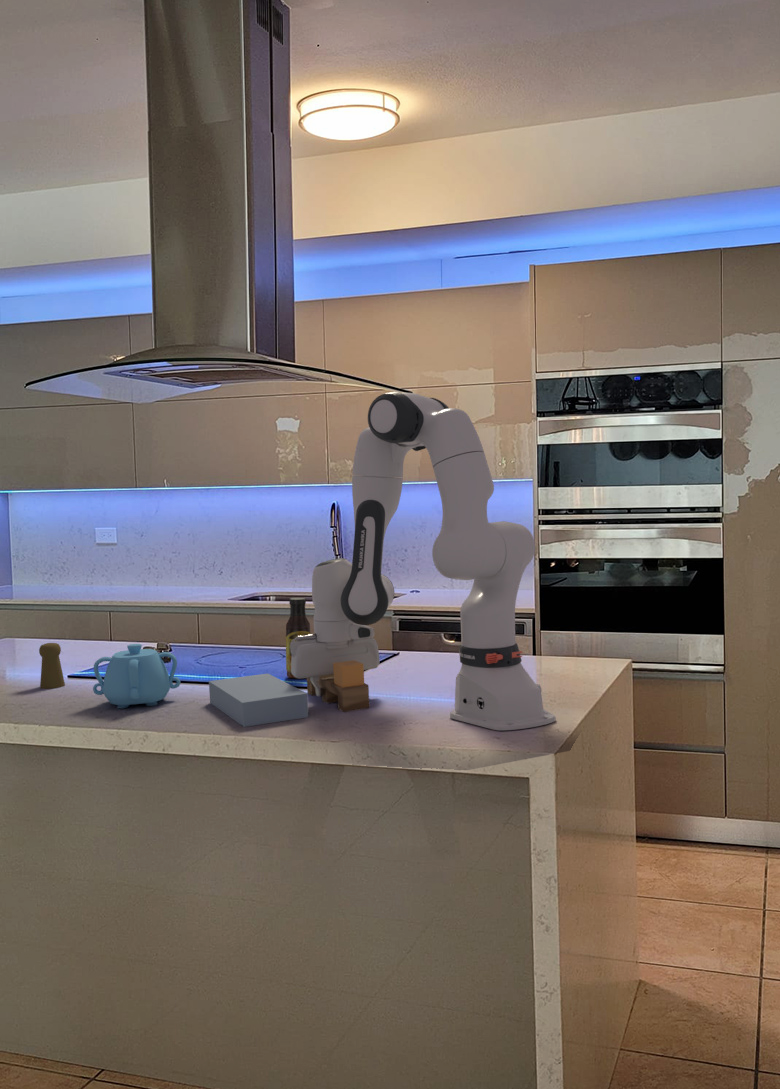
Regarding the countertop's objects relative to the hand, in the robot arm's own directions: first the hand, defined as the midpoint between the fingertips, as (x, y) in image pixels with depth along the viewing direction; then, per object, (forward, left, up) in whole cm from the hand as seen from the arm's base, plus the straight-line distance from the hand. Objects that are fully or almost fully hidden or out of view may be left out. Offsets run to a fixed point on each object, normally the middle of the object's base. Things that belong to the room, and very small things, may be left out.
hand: (337, 693), depth 227 cm
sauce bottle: (+30, -2, -2) cm, 30 cm away
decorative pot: (+26, +39, -2) cm, 47 cm away
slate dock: (+2, +18, -2) cm, 18 cm away
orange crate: (-7, 0, +3) cm, 8 cm away
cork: (+59, +54, -2) cm, 80 cm away
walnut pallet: (0, 0, -2) cm, 2 cm away
